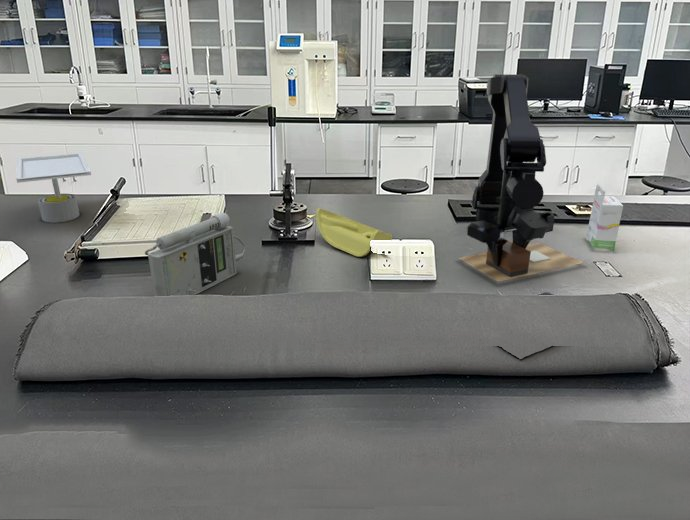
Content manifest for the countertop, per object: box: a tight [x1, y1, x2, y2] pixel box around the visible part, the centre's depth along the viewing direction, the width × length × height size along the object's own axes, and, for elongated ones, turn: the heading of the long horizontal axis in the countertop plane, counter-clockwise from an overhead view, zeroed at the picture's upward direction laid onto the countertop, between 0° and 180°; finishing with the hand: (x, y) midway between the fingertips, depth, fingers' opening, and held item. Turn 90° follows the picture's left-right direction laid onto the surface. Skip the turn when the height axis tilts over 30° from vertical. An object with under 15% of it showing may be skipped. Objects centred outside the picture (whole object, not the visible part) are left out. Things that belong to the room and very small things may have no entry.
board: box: [458, 242, 584, 283], centre depth 120 cm, size 14×24×1 cm, turn 114°
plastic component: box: [315, 207, 394, 258], centre depth 132 cm, size 20×7×10 cm
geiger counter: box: [144, 212, 247, 297], centre depth 108 cm, size 14×6×25 cm
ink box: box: [585, 183, 624, 252], centre depth 128 cm, size 9×5×15 cm, turn 168°
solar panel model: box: [15, 152, 92, 224], centre depth 150 cm, size 28×17×15 cm, turn 29°
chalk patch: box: [530, 251, 551, 263], centre depth 122 cm, size 5×5×1 cm
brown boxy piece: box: [486, 240, 531, 277], centre depth 115 cm, size 8×5×5 cm, turn 24°
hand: (506, 264), depth 116 cm, fingers closed on brown boxy piece, 5 cm apart
